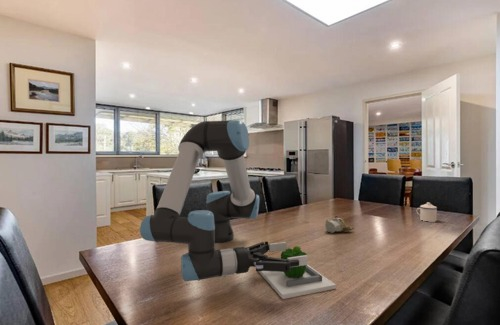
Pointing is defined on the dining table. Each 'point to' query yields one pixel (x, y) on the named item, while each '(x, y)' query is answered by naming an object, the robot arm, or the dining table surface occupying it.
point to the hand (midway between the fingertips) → (295, 252)
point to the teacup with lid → (428, 212)
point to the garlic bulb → (336, 225)
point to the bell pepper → (294, 252)
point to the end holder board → (297, 283)
